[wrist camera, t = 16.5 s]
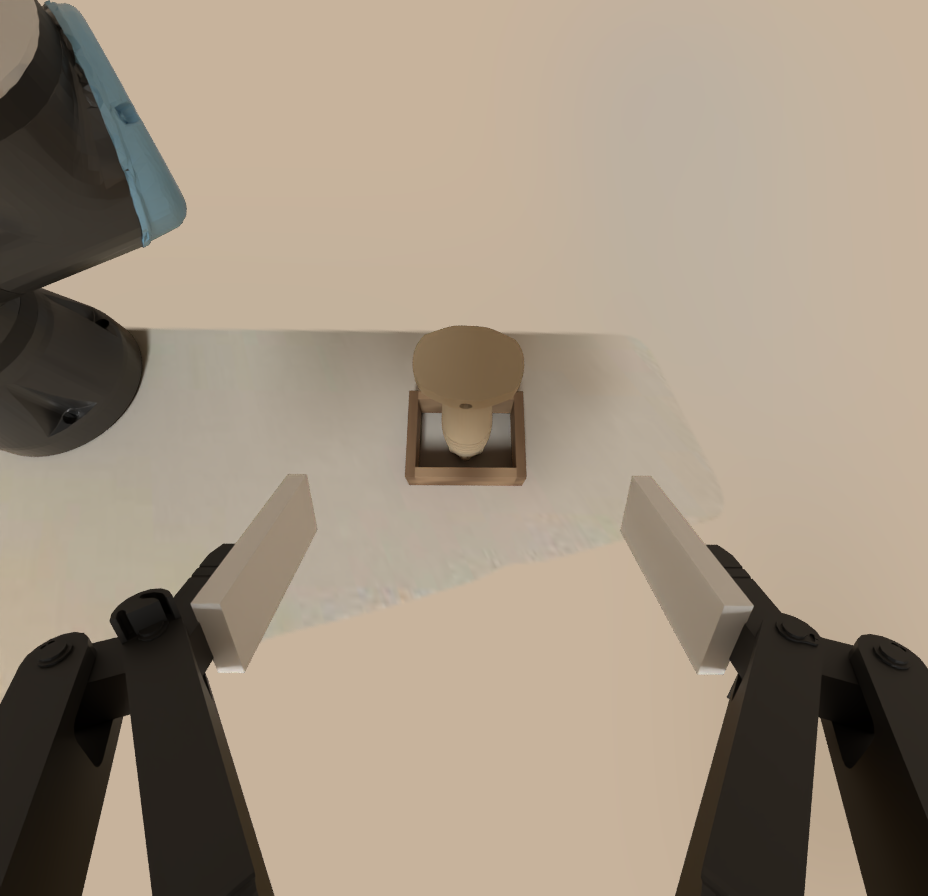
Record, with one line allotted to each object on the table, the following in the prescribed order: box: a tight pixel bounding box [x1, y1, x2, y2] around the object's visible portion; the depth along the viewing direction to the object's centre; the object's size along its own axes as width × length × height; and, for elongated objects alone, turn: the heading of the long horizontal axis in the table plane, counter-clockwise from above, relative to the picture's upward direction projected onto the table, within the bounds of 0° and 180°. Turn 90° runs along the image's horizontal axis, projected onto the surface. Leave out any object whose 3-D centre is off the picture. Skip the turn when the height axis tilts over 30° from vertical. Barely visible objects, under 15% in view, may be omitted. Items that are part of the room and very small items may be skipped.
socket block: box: [405, 391, 526, 486], centre depth 37 cm, size 10×8×3 cm
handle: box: [413, 326, 524, 461], centre depth 31 cm, size 5×6×15 cm
